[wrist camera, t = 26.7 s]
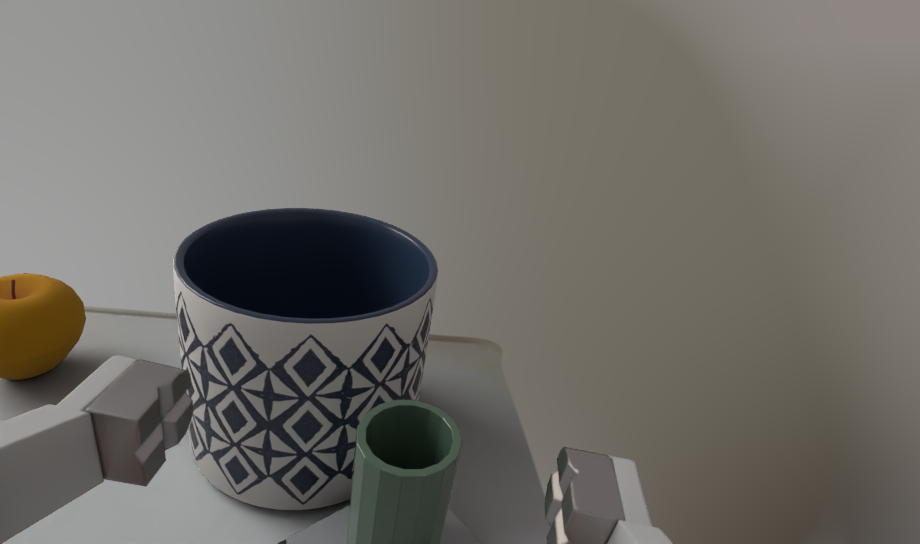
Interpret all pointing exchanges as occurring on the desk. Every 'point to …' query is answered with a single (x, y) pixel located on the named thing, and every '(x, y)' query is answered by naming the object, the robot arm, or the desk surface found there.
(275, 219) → the planter
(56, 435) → the robot arm
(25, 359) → the apple
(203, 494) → the desk surface
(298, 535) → the scale
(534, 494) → the desk surface
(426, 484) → the cup
